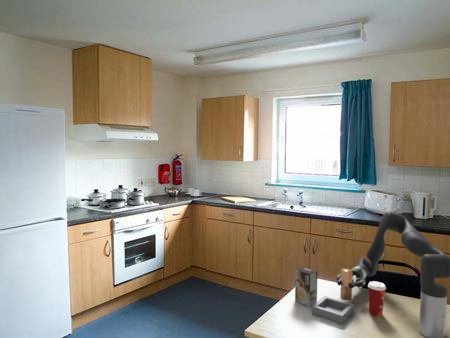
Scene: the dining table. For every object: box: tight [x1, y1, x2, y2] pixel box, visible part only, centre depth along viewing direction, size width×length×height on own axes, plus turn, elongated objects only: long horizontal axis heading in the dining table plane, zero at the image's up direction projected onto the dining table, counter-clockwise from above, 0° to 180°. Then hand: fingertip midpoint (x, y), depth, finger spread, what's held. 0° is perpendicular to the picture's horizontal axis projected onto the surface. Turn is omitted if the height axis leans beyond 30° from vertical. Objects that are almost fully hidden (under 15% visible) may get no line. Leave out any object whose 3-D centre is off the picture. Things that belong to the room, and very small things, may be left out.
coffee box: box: [294, 266, 318, 308], centre depth 174 cm, size 9×6×16 cm
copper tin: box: [339, 268, 353, 302], centre depth 174 cm, size 5×5×14 cm
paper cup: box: [367, 280, 387, 317], centre depth 163 cm, size 8×8×14 cm
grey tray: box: [311, 295, 355, 325], centre depth 163 cm, size 14×14×4 cm
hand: (344, 284), depth 172 cm, fingers closed on copper tin, 5 cm apart
